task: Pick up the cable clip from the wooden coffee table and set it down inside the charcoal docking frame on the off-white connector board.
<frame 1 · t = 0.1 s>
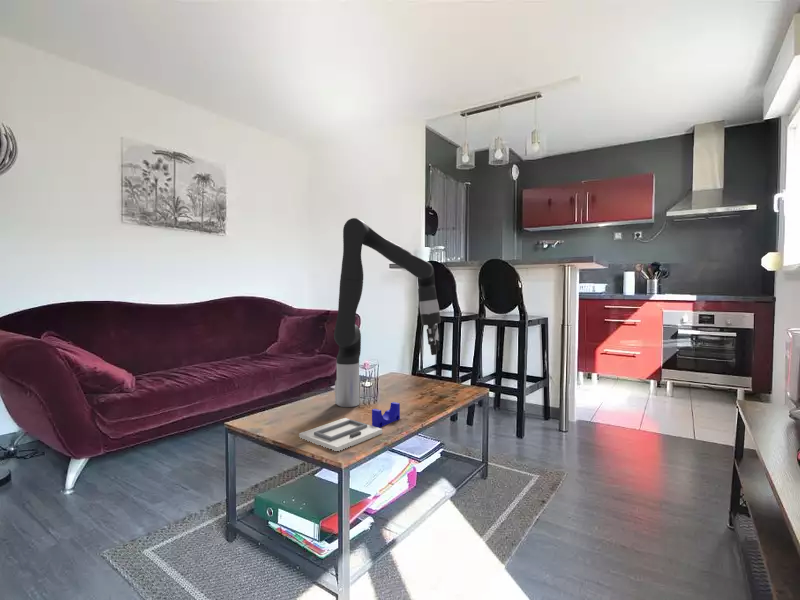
hand: (435, 352, 165), 22 cm above the table, tool pointing down, fingers open, 8 cm apart
cable clip: (384, 423, 151), on the table
connector board: (341, 435, 138), on the table
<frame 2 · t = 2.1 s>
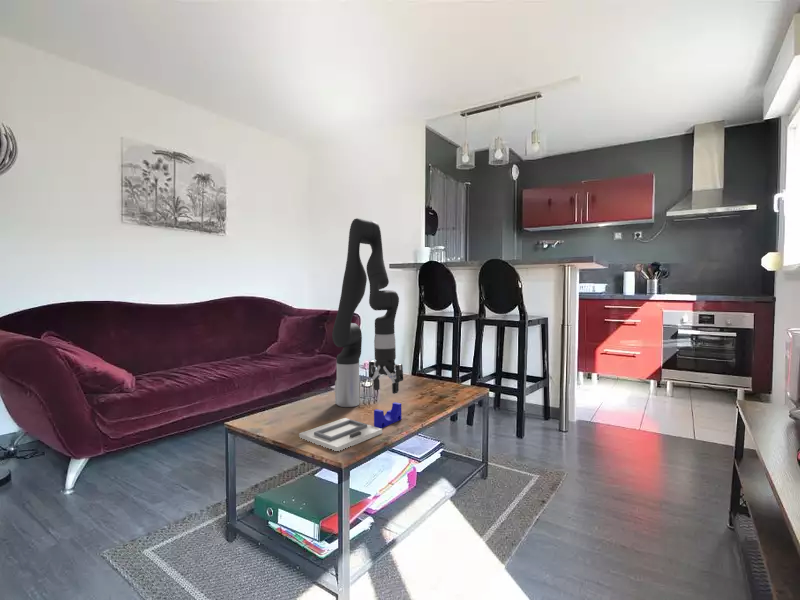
hand: (385, 391, 151), 11 cm above the table, tool pointing down, fingers open, 8 cm apart
nothing on the table moved.
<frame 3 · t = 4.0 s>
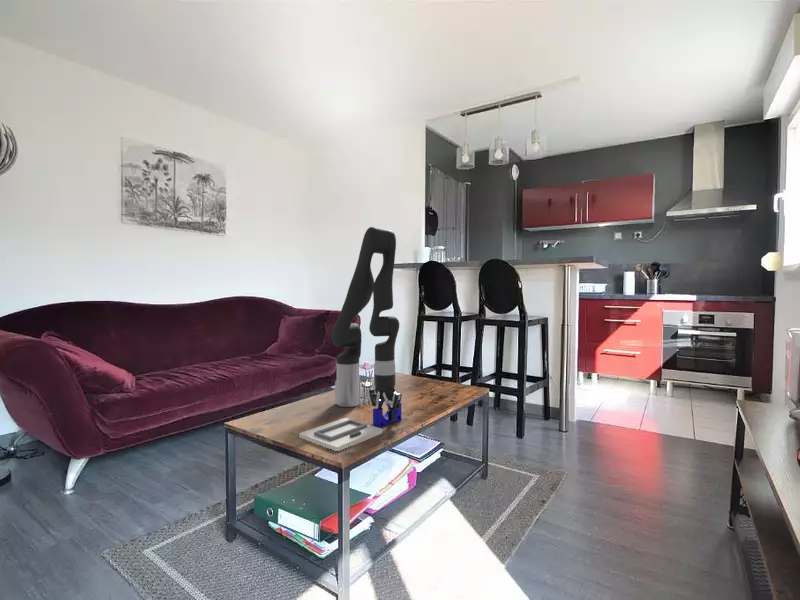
hand: (385, 419, 150), 1 cm above the table, tool pointing down, fingers closed on cable clip, 4 cm apart
cable clip: (385, 422, 151), on the table, touching gripper
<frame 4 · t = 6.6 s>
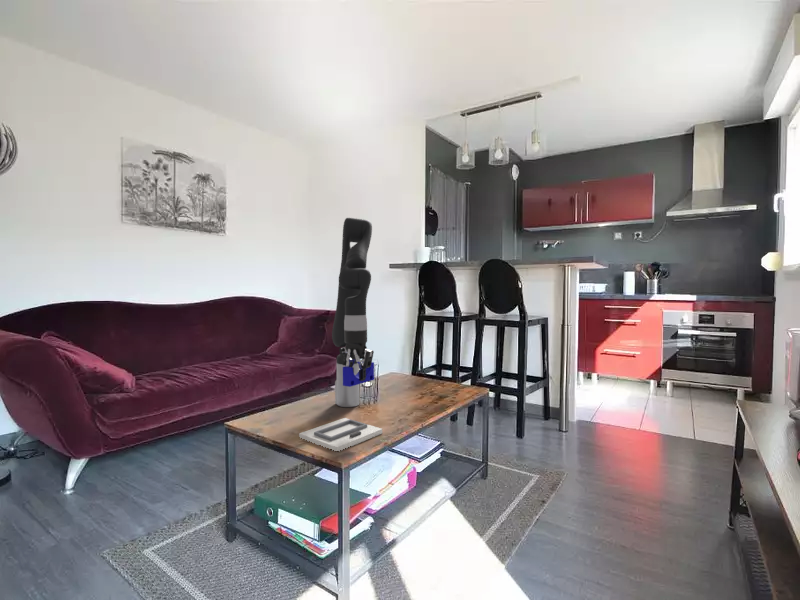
hand: (356, 379, 141), 18 cm above the table, tool pointing down, fingers closed on cable clip, 4 cm apart
cable clip: (357, 382, 141), point 16 cm above the table, touching gripper
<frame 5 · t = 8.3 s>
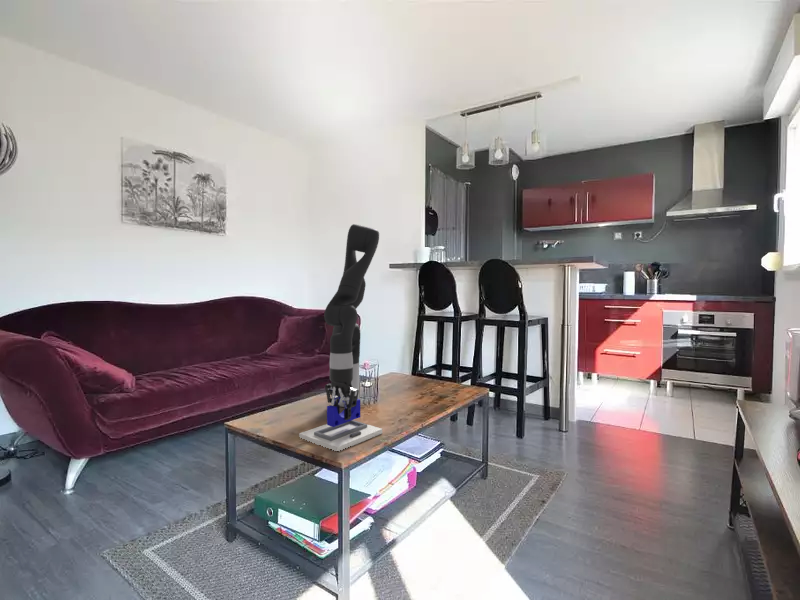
hand: (341, 417, 137), 6 cm above the table, tool pointing down, fingers closed on cable clip, 4 cm apart
cable clip: (342, 421, 138), point 5 cm above the table, touching gripper
when the fingers open (3 cm above the table, at t = 9.5 s): cable clip stays where it is, resting on connector board.
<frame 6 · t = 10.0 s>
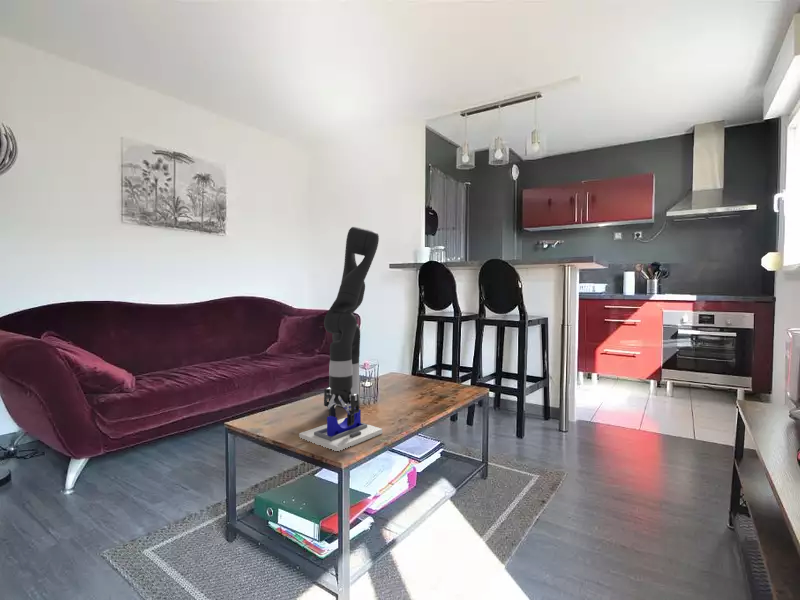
hand: (341, 422, 138), 4 cm above the table, tool pointing down, fingers open, 8 cm apart
cable clip: (342, 431, 138), point 1 cm above the table, touching connector board
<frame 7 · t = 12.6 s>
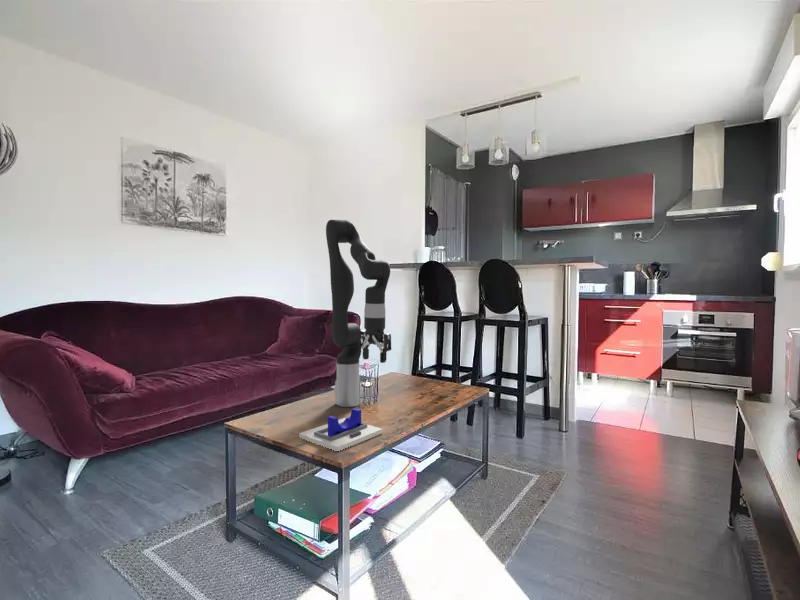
hand: (374, 360, 152), 22 cm above the table, tool pointing down, fingers open, 8 cm apart
nothing on the table moved.
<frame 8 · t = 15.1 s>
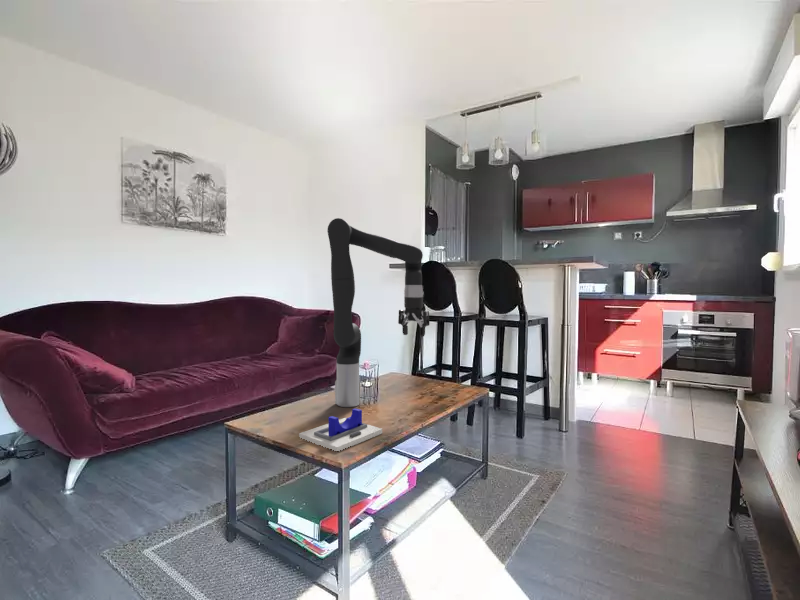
hand: (413, 335, 173), 28 cm above the table, tool pointing down, fingers open, 8 cm apart
nothing on the table moved.
at the end: cable clip 0.9 cm off-centre on the connector board, point 1.3 cm above the connector board's base; cable clip tilted 0°; the gripper is holding nothing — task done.
